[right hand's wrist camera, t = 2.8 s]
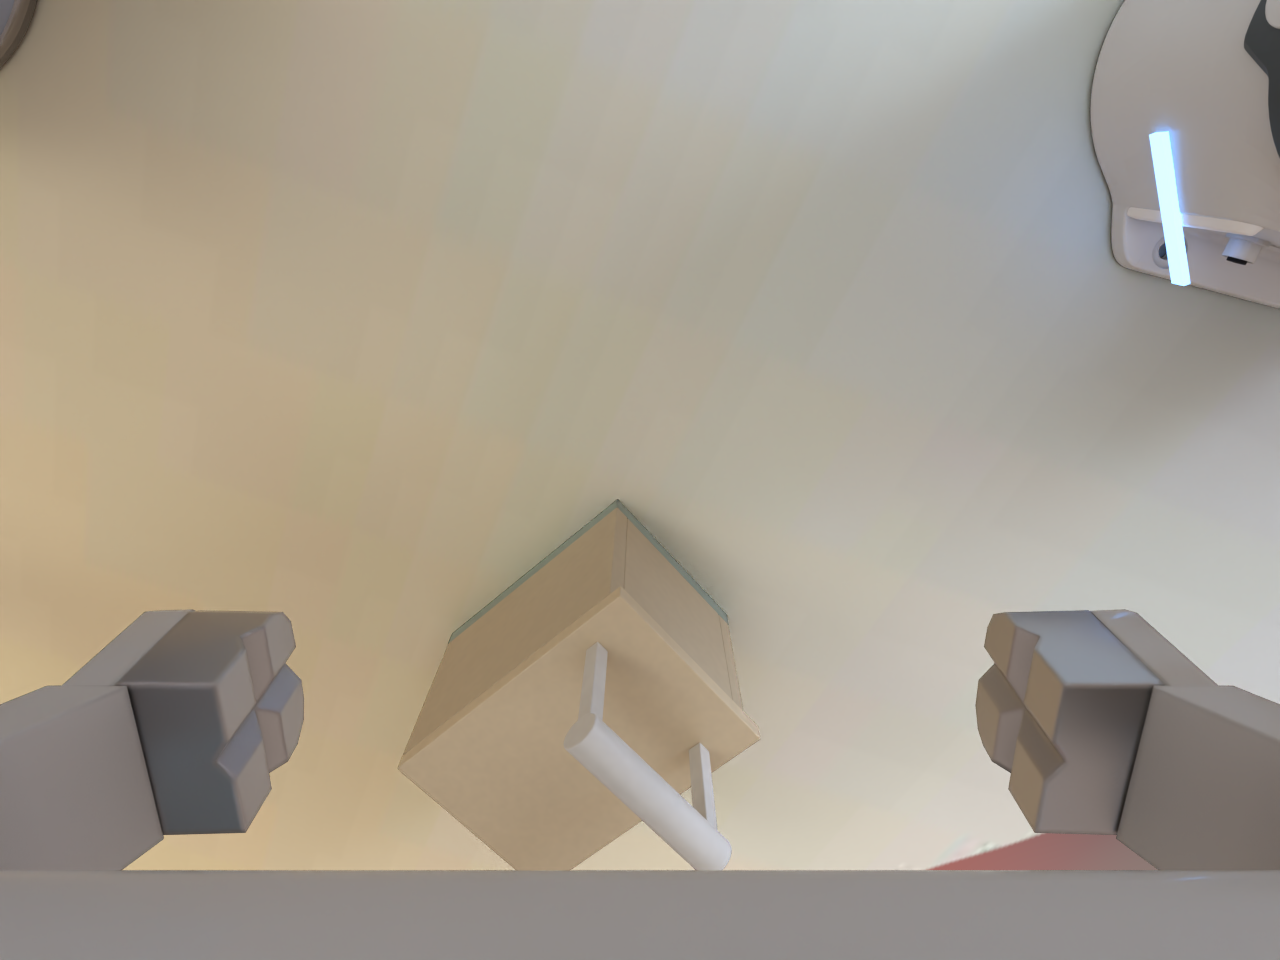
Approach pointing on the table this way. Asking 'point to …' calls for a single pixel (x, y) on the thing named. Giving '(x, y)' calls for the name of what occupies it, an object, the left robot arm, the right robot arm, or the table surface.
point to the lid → (589, 747)
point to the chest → (579, 613)
